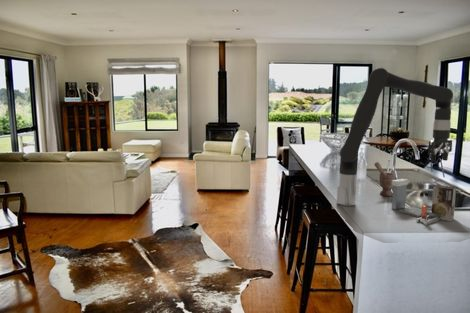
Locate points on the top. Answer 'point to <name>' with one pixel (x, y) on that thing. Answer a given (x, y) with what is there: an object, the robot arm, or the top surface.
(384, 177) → the mortar and pestle
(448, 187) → the coffee box
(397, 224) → the top surface
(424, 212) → the lever
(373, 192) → the top surface
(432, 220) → the press
